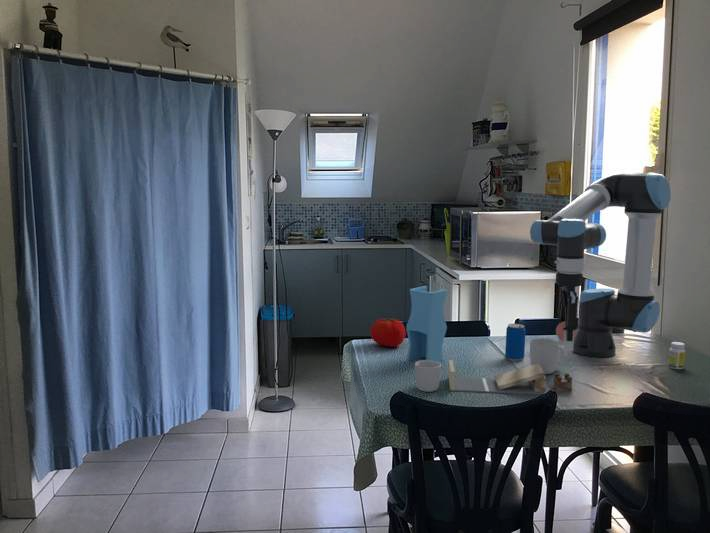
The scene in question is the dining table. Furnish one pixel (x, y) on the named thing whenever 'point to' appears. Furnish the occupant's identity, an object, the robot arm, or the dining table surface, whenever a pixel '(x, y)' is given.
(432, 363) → the cup
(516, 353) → the beverage can
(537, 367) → the ramp
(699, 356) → the dining table surface
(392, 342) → the tomato
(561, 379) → the brown block with bumps
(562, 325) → the ball
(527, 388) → the runway
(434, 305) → the vase
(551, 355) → the mug
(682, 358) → the supplement bottle
